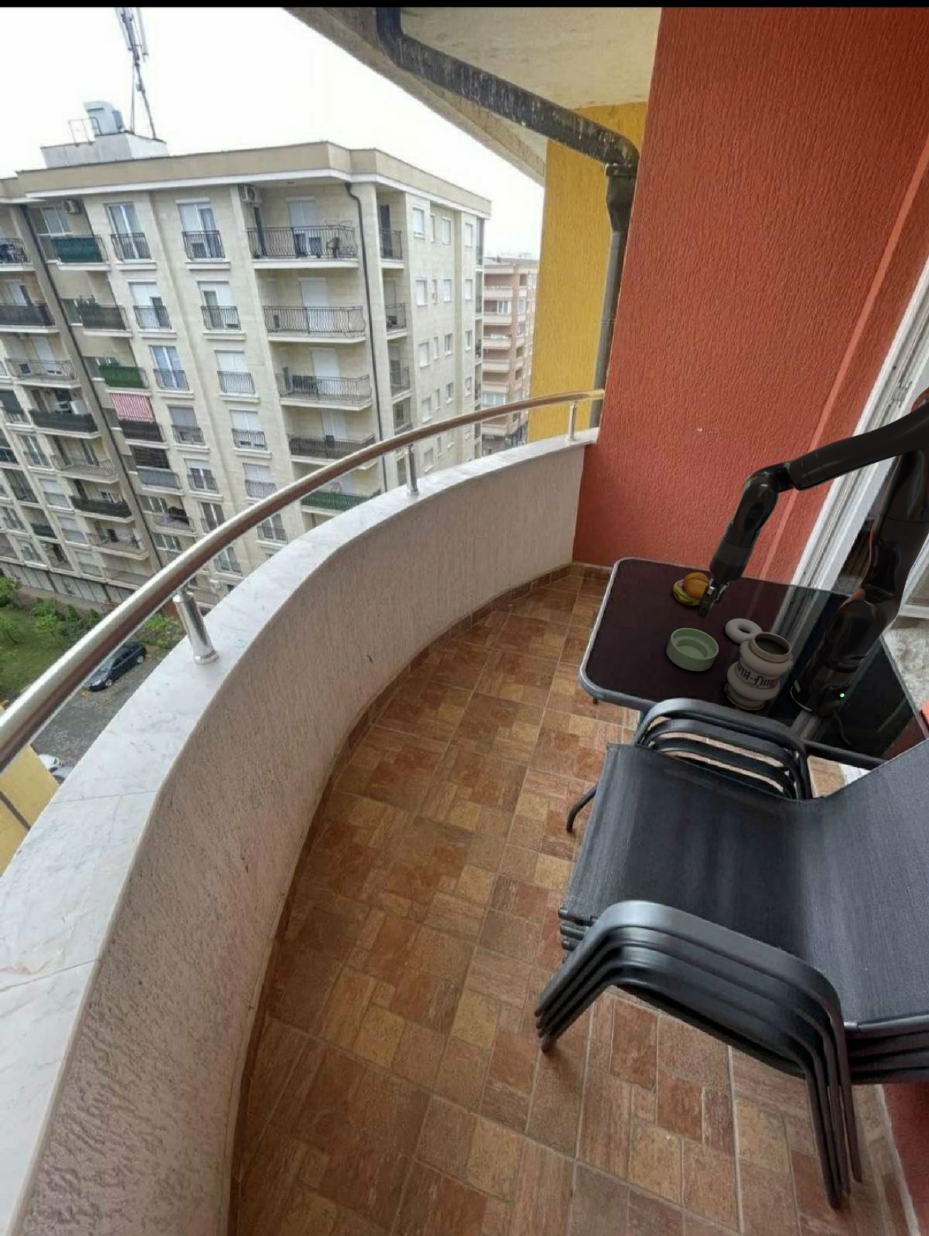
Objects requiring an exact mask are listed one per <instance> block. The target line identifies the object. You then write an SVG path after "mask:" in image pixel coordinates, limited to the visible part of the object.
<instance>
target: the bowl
mask: <svg viewBox="0 0 929 1236" xmlns="http://www.w3.org/2000/svg"><path fill="white" fill-rule="evenodd" d="M719 649H720V648H719V645H718V642H717V641H716V639H714V638H713V636H711V635H710V634H708V633H707V632H704V631H702V630H699V629H696V628H693V627H682V628H678V629H676V630H674V631H673V632H672V634H671V635H670V637H669V640H668V642H667V645H666V651H665V653H666V654H667V657H668V658H669V660H670V661H671V662H672V663H673V664H675V665H676V666H678V667H680V668H682V669H684V670H687V671H692V672H703V671H707V670H708V669H710V668H712V666H713V664H714V662H715V661H716V658H717V656H718V655H719Z"/></svg>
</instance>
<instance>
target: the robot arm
mask: <svg viewBox="0 0 929 1236" xmlns="http://www.w3.org/2000/svg"><path fill="white" fill-rule="evenodd" d="M898 456H899V458H898V461H897V464H896V465H895V468H894V470H893V472H892V475H891V477H890V479H889V480H888V481H889V482H888V484H887V486H886V489H885V491H884V493H883V496H882V499H881V501H880V503H879V506H878V508H877V512H876V515H875V518H874V520H873V523H872V527H871V530H870V536H869V563H868V566H867V569H866V571H865V574H864V576H863V579H861V582H860V584H859V586H858V588H857V590H856V591H855V592H854V593H853V594H852V595H850V597H849V598H847V599H846V600H845V601H843V603H842V604H841V605H840V606H839V607H838V609H837V610H836V612H835V613H834V615H833V616H832V618H831V620H830V622H829V623H828V625H827V627H826V628H825V631H824V632H823V636H822V638H821V640H820V642H819V643H818V645H817V647H816V648H815V650H814V652H813V653H812V655H811V656H810V658H809V660H808V661H807V662H806V664H805V666H804V667H803V669H802V670H801V672H800V674H799V676H797V679H795V680H794V682H793V685H792V686H791V688H790V689H789V698H790V699H791V701H792V702H793V703H794V704H795V705H796V706H797V707H798V708H800V709H802V710H803V711H805V712H808V713H809V714H811V715H812V716H818V715H820V716H822V717H825V716H830V715H833V717H834V718H835V720H836V722H837V723H838V727H839V736H840V738H841V739H842V741H843V742H844V743H845V744H846V745H847V746H848V747H850V746H852V743H851V741H849V740H848V739H847V738H846V736H845V733H844V732H845V731H844V730H845V729H844V725H843V722H842V721H841V718H840V716H839V714H838V711H839V710H840V709H841V707H842V706H843V703H842V702H841V700H842V699H843V697H845V694H846V693H847V691H848V690H849V689H850V687H851V685H852V684H851V682H850V680H851V679H852V677H853V676H854V675H855V673H856V672H857V671H858V669H859V668H860V666H861V665H862V664H863V662H864V661H865V659H866V658H867V657H868V655H869V654H870V650H871V649H872V648H873V646H874V644H875V643H876V642H877V641H878V639H879V637H880V636H881V634H882V633H883V632H884V631H885V630H886V628H887V627H888V626H890V625H891V624H892V623H893V622H894V620H895V619H896V618H897V616H898V615H899V612H900V609H901V604H902V600H903V596H904V592H905V587H906V584H907V580H908V578H909V575H910V572H911V570H912V568H913V566H914V565H915V563H916V562H917V559H918V557H919V555H920V553H921V551H922V549H923V547H924V545H925V543H926V541H927V538H928V536H929V386H928V387H927V388H925V389H924V390H923V391H922V392H921V393H920V394H919V395H918V396H917V397H916V399H915V400H914V402H913V403H912V406H911V408H910V412H908V413H907V414H905V415H903V416H901V417H899V418H898V419H895V420H893V421H891V422H889V423H887V424H885V425H883V426H880V427H878V428H875V429H873V430H870V431H866V432H863V433H860V434H856V435H852V436H849V437H845V438H841V439H838V440H835V441H832V442H830V443H827V444H824V445H821V446H820V447H819V446H818V447H817V448H815V449H812V450H811V451H809V452H806V453H803V454H802V455H800V456H798V457H795V458H793V459H789V460H787V461H781V462H778V463H775V464H772V465H767V466H764V467H762V468H759V469H757V470H755V471H754V472H752V473H750V474H749V475H748V476H747V477H746V478H745V479H744V480H743V483H742V485H741V495H740V500H739V502H738V505H737V507H736V510H735V512H734V513H733V515H732V516H731V517H730V519H729V520H728V523H727V525H726V527H725V530H724V532H723V534H722V537H721V538H720V540H719V541H718V544H717V546H716V548H715V552H713V555H712V558H711V560H710V563H709V566H708V569H709V572H711V574H712V575H713V576H712V577H711V578H710V579H709V585H707V586H706V588H705V591H704V593H703V595H702V598H701V600H700V602H699V605H698V606H699V609H698V611H697V615H696V616H697V617H699V618H701V619H703V620H705V619H707V617H708V615H709V613H710V611H711V609H712V608H713V605H714V604H717V605H719V604H720V603H721V601H722V599H723V597H724V595H725V593H726V592H727V591H728V590H729V588H730V587H731V585H732V583H733V581H737V580H739V579H741V578H742V576H743V575H744V572H745V570H746V568H747V566H748V564H749V561H750V559H751V558H752V555H753V552H754V550H755V546H756V543H757V541H758V540H759V537H760V535H761V532H762V530H763V528H764V526H765V525H766V523H767V522H768V520H769V519H770V518H771V516H772V514H773V512H774V511H775V509H776V506H777V504H778V503H779V497H780V494H782V493H784V492H788V491H791V490H796V491H798V492H806V491H808V490H811V489H814V488H817V487H819V486H822V485H824V484H826V483H829V482H831V481H833V480H836V479H838V478H841V477H842V476H843V477H844V476H845V475H848V474H850V473H853V472H855V471H858V470H861V469H863V468H866V467H869V466H872V465H874V464H877V463H880V462H883V461H885V460H886V461H887V460H889V459H892V458H896V457H898Z"/></svg>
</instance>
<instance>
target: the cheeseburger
mask: <svg viewBox="0 0 929 1236" xmlns="http://www.w3.org/2000/svg"><path fill="white" fill-rule="evenodd" d="M709 581H710V579H709V578H708V576H707V575H706V574H704V573H702V572H699V571H697V572H696V571H695V572H691V573H688V574H687V575H685V577H683V578H682V579H680V580H677V581H676V582H675V583H674V585H673V589H672V593H673V596H674V599H675V600H677V601H678V602H679V603H681V604H683V605H685V606H691V607H693V606H699V602H700V600H701V598H702V595H703V593H704V591H705V588H706V586H707V585H709Z"/></svg>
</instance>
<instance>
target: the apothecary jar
mask: <svg viewBox="0 0 929 1236" xmlns="http://www.w3.org/2000/svg"><path fill="white" fill-rule="evenodd" d="M738 653H739V658H738V661H735V662H733V663H732V664H731V665H730V666H729V668H728V669H727V672H726V677H727V683H726V684H725V685H724V689H723V690H724V692H725V693H726V694H727V696H726V698H727V699H728V700H729V701H730V702H731V703H732V704H733V705H734V706H737V707H738V708H741V709H743V710H746V711H747V710H748V711H757V710H761V709H763V708H764V706H765V705H766V703H767V701H768V700H771V699H773V698H775V697H776V696H777V695H778V694H779V692H780V690H781V681H780V678H781V676H782V675H785V674H787V673H788V672H790V671H791V670H792V668H793V667H794V656H793V654H792V646H791V643H789V641H788V640H787V639H786V638H784V637H782V636H781V635H778V634H776V633H772V632H769V631H768V632H767V631H763V632H760V633H757V634H755V635H754V636H753V637H751V638H748V639H746V640H744V641H743V642H742V643H741V644H739V647H738Z"/></svg>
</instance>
